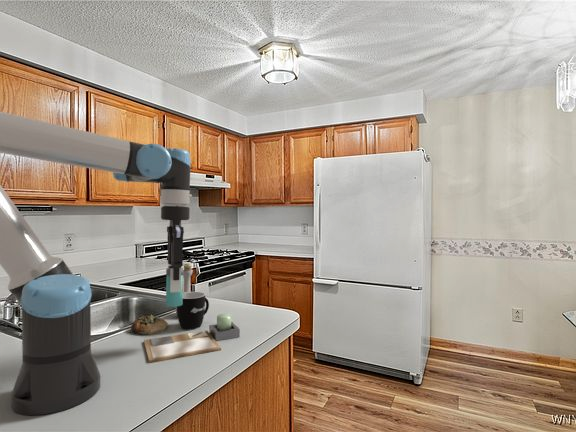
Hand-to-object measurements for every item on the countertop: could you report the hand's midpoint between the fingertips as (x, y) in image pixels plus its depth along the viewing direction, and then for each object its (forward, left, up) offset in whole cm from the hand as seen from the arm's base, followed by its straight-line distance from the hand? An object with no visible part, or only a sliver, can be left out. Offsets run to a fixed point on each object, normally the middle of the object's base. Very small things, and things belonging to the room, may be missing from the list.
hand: (174, 289), depth 99 cm
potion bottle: (+9, +26, -15) cm, 31 cm away
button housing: (+15, +1, -15) cm, 21 cm away
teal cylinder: (0, 0, -4) cm, 4 cm away
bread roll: (-5, +16, -16) cm, 23 cm away
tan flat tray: (+2, -2, -15) cm, 16 cm away
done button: (+15, +1, -14) cm, 20 cm away
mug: (+9, +14, -15) cm, 23 cm away
